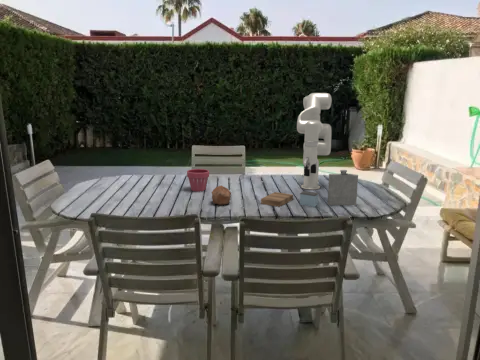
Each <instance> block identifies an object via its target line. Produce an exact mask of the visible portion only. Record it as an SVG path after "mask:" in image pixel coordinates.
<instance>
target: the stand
mask: <svg viewBox="0 0 480 360" xmlns="http://www.w3.org/2000/svg"><path fill="white" fill-rule="evenodd" d="M293 200H294V194H292V193H285V192H284V193H283V192H277V191H274V192H273V193H270V194H268V195H266V196H263V197H261V198H260V204H261V205H267V206H272V207H277V206H278V207H279V208H280V206H281V207H282V206H284V205H286V204H288V203H289V202H291V201H293Z"/></svg>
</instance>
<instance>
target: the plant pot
mask: <svg viewBox="0 0 480 360" xmlns="http://www.w3.org/2000/svg"><path fill="white" fill-rule="evenodd" d="M186 177H187V178H188V182H189V187H190V189H191V191H192V192H200V191H201V192H204V190H205V191H206V189H207V183H208V179H209V177H210V171H209V169H205V168H193V169H188V170H187V171H186Z"/></svg>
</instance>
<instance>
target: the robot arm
mask: <svg viewBox="0 0 480 360" xmlns="http://www.w3.org/2000/svg"><path fill="white" fill-rule="evenodd" d="M332 101H333V100H332V95H331V94H330V93H327V92H312V93H310V94H309V95H306V96H305V97H303V101H302V102H303V103H302V104H303V108H304V110H303V111H301V112H300V114H299V115H298V116H297V121H296V131H297V132H298V133H299V134H304V142H303V156H302V157H303V158H302V165H303V184H301V185H300V188H301V189H304V190H311V191H312V190H313V191H314V190H315V191H316V190H319V189H320V188H321V186H320V185H319V182H320V180H319V167H320V166H319V165H320V161H319V159H318V156H329V155H330V154H331V150H332V126H331V124H329V123H322V121H321V110H329V109H330V108H331V107H332ZM319 139H323V140H319Z"/></svg>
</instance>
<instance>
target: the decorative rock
mask: <svg viewBox="0 0 480 360" xmlns="http://www.w3.org/2000/svg"><path fill="white" fill-rule="evenodd" d="M231 195H232V192H231V191H230V190H229V189H228V188H227V187H225V186H224V185H218V186H216V187H215V188H214V189H213V190H212V191H211V200H212V203H213V204H215V205H219V206H222V205H228V204H229V203H230V201H231Z"/></svg>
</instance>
